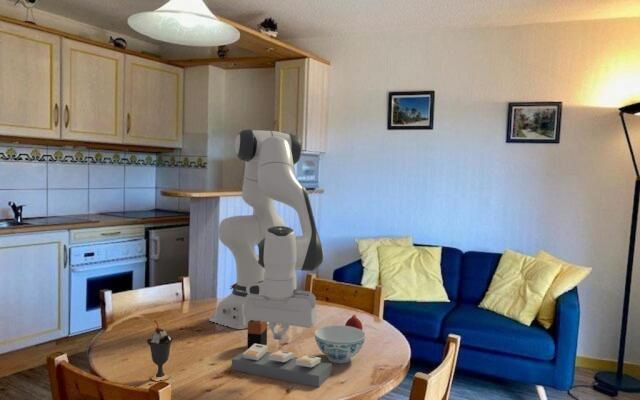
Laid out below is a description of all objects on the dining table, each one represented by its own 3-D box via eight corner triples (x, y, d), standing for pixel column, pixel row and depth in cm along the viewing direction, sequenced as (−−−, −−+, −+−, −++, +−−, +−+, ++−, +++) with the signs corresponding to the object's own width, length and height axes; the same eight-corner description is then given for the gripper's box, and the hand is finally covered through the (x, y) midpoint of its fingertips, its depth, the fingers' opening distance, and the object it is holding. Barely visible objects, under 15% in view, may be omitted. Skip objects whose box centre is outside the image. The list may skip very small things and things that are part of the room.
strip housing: (231, 369, 135) (231, 359, 135) (248, 358, 143) (248, 348, 143) (318, 387, 125) (319, 375, 125) (331, 374, 133) (331, 363, 133)
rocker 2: (268, 361, 132) (269, 354, 132) (279, 356, 138) (280, 349, 138) (283, 364, 130) (283, 357, 130) (293, 359, 136) (294, 352, 136)
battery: (246, 351, 149) (247, 319, 148) (254, 344, 155) (254, 313, 155) (260, 352, 148) (261, 320, 147) (267, 345, 155) (267, 314, 154)
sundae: (150, 372, 132) (150, 317, 131) (175, 372, 132) (176, 317, 131) (143, 383, 125) (143, 325, 124) (170, 382, 126) (170, 325, 125)
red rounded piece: (361, 342, 159) (361, 317, 159) (343, 340, 161) (344, 316, 160) (363, 336, 165) (363, 312, 165) (346, 334, 166) (346, 311, 166)
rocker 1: (243, 359, 135) (242, 353, 135) (255, 348, 141) (254, 342, 140) (257, 362, 133) (256, 355, 133) (268, 351, 139) (268, 345, 139)
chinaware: (329, 346, 155) (330, 322, 154) (373, 356, 147) (373, 331, 147) (304, 361, 142) (304, 335, 141) (350, 373, 134) (351, 345, 134)
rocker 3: (295, 366, 129) (296, 359, 129) (305, 361, 134) (306, 354, 135) (311, 369, 127) (311, 362, 127) (320, 364, 133) (320, 357, 133)
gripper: (320, 289, 129) (319, 341, 130) (252, 282, 137) (252, 331, 138) (310, 294, 124) (310, 348, 124) (240, 286, 131) (240, 337, 132)
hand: (279, 339), depth 131 cm, fingers closed
